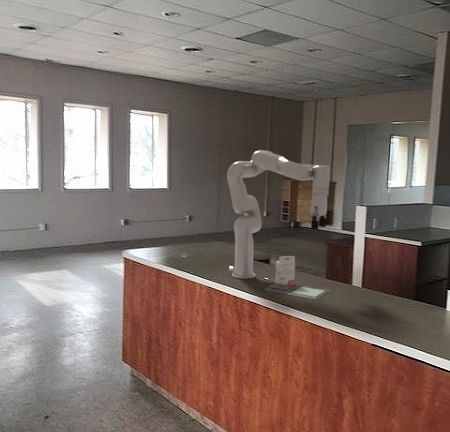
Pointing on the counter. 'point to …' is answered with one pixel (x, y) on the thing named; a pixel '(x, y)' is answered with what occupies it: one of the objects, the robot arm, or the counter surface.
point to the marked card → (308, 292)
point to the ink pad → (280, 288)
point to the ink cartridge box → (285, 270)
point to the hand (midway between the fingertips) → (318, 227)
